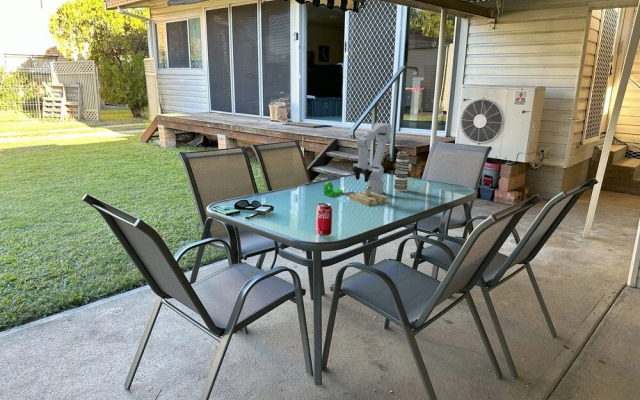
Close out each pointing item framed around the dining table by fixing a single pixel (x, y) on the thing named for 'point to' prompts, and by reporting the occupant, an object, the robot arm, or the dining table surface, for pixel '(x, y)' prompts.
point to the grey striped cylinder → (401, 171)
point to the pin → (368, 191)
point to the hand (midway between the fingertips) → (361, 180)
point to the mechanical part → (331, 190)
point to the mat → (348, 193)
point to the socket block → (368, 198)
